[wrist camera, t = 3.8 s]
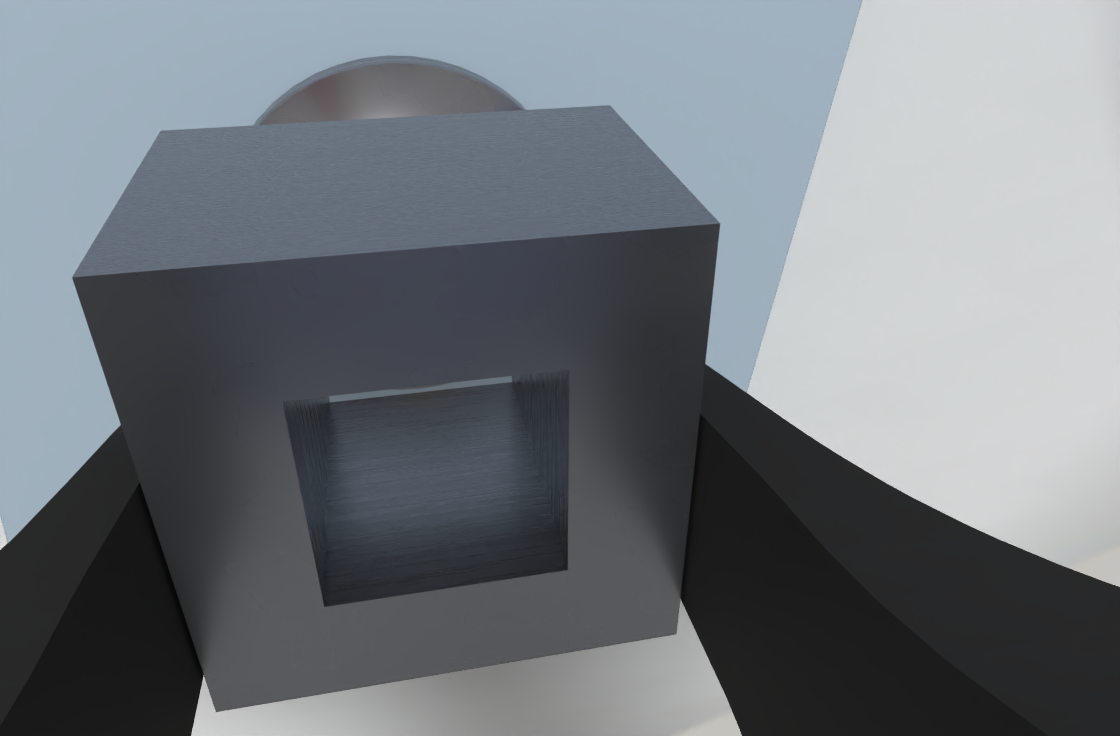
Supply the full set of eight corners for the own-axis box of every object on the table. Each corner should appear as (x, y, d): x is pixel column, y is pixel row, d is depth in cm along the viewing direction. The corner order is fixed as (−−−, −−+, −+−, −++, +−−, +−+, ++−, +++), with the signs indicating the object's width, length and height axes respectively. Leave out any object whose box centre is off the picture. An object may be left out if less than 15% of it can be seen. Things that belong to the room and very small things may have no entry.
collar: (609, 105, 11) (720, 223, 8) (599, 443, 14) (675, 634, 11) (160, 131, 10) (71, 278, 7) (249, 488, 13) (216, 712, 10)
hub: (594, 71, 15) (642, 125, 13) (548, 374, 19) (580, 463, 16) (209, 38, 14) (180, 91, 11) (235, 373, 17) (217, 472, 15)
